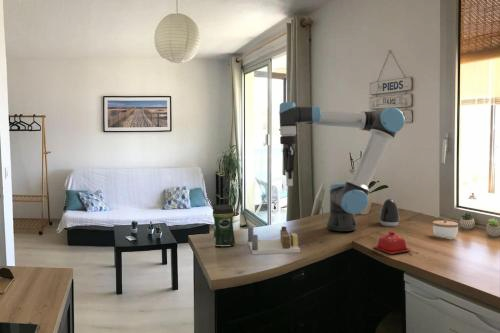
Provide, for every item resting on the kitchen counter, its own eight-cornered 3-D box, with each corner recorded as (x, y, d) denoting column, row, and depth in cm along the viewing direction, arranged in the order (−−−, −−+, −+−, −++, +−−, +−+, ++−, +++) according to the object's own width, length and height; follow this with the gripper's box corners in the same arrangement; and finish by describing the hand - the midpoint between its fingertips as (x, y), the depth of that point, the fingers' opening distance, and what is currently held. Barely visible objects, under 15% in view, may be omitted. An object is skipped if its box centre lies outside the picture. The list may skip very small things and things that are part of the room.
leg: (280, 239, 175) (280, 226, 175) (287, 239, 175) (286, 226, 175) (282, 248, 161) (282, 233, 161) (290, 247, 161) (289, 233, 161)
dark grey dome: (401, 226, 209) (401, 198, 208) (397, 229, 200) (397, 200, 199) (382, 224, 214) (382, 197, 214) (377, 227, 206) (377, 199, 205)
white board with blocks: (290, 241, 178) (290, 225, 178) (300, 252, 161) (300, 234, 160) (247, 243, 176) (247, 227, 176) (252, 254, 158) (252, 236, 158)
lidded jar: (457, 237, 182) (457, 217, 182) (458, 242, 172) (459, 222, 172) (432, 235, 187) (432, 216, 186) (432, 240, 177) (432, 220, 176)
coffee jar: (233, 242, 178) (232, 202, 177) (236, 247, 170) (235, 205, 169) (212, 244, 176) (211, 203, 175) (214, 248, 168) (213, 206, 167)
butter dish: (390, 256, 154) (390, 235, 154) (371, 249, 165) (371, 229, 165) (412, 253, 158) (412, 232, 158) (393, 246, 169) (393, 227, 169)
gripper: (277, 136, 186) (278, 184, 187) (283, 135, 173) (285, 187, 175) (292, 135, 187) (293, 183, 189) (299, 135, 174) (301, 186, 176)
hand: (289, 185), depth 182 cm, fingers closed
